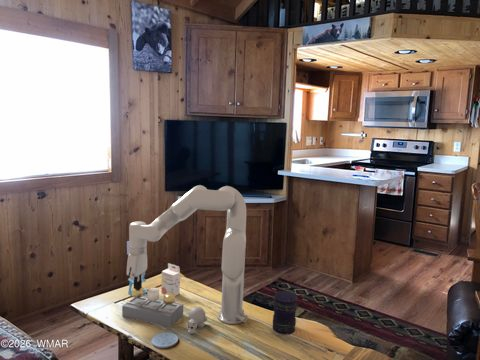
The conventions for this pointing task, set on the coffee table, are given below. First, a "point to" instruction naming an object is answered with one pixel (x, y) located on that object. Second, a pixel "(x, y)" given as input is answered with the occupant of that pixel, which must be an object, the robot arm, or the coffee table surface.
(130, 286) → the chair
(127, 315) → the grey compartment tray
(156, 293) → the white knob middle
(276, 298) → the storage jar
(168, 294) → the brass knob near
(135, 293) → the brass knob far
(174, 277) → the ink cartridge box
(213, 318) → the coffee table surface
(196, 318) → the round bodied animal figurine
